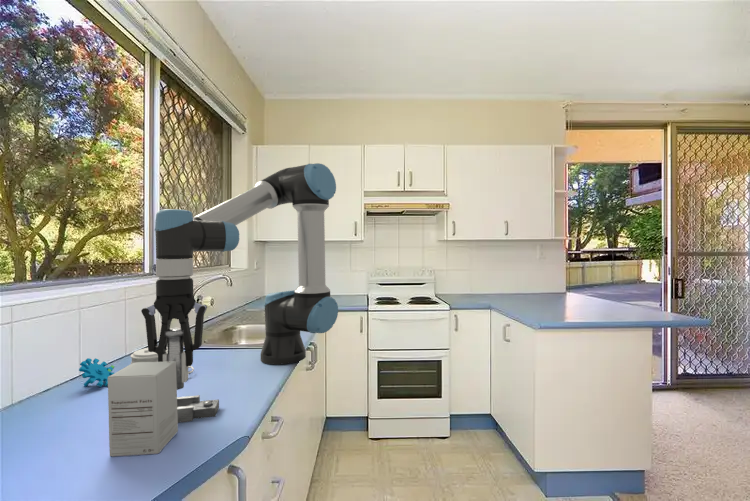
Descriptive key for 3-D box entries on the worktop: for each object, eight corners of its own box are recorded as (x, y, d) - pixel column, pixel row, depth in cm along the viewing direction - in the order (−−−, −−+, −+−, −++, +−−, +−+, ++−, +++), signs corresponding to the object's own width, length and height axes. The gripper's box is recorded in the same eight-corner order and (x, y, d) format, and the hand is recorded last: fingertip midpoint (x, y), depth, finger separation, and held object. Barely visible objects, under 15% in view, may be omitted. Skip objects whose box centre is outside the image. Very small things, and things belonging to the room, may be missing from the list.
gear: (97, 386, 103) (75, 359, 105) (81, 402, 103) (59, 374, 105) (126, 378, 114) (106, 353, 116) (112, 392, 114) (92, 367, 116)
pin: (189, 383, 91) (188, 327, 91) (184, 390, 86) (183, 331, 86) (168, 385, 90) (167, 328, 90) (161, 392, 85) (161, 332, 85)
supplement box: (133, 434, 80) (132, 361, 80) (179, 431, 81) (177, 359, 80) (107, 457, 71) (105, 376, 71) (158, 454, 72) (156, 374, 71)
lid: (176, 364, 129) (176, 349, 129) (131, 371, 122) (131, 355, 122) (171, 355, 139) (171, 341, 139) (129, 362, 132) (129, 347, 132)
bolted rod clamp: (219, 405, 93) (219, 393, 93) (214, 418, 86) (214, 405, 86) (142, 413, 90) (141, 400, 90) (129, 427, 83) (129, 413, 83)
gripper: (216, 275, 93) (217, 373, 93) (141, 277, 90) (142, 378, 90) (209, 278, 86) (210, 383, 86) (128, 280, 82) (129, 390, 82)
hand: (176, 380), depth 88 cm, fingers closed on pin, 3 cm apart
